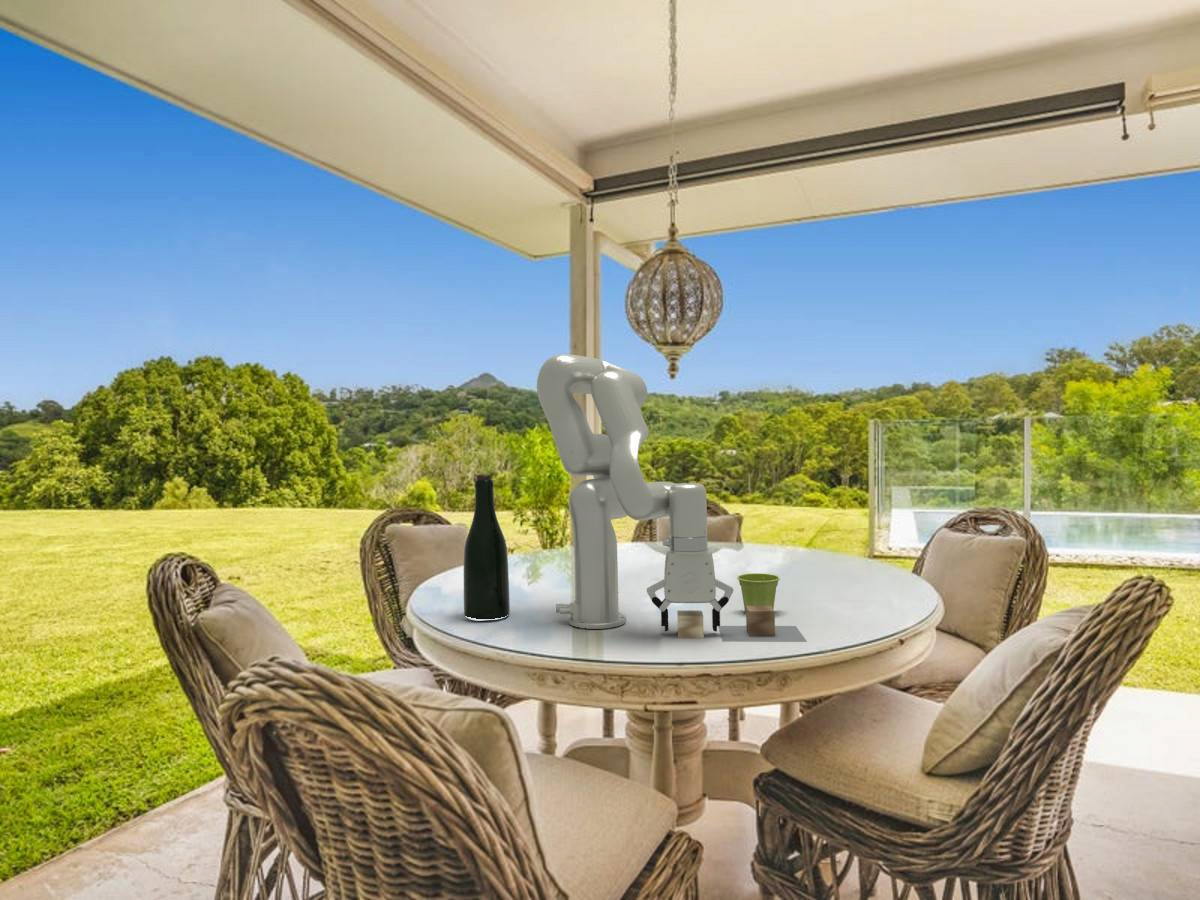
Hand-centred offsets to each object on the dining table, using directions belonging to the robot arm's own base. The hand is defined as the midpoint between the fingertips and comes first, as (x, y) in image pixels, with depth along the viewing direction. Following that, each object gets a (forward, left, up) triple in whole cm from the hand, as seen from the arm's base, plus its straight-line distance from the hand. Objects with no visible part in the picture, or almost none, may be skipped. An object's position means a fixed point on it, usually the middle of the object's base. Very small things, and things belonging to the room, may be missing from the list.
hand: (690, 629), depth 145 cm
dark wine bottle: (-46, +17, -2) cm, 49 cm away
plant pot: (+16, +19, -2) cm, 25 cm away
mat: (+14, +1, -2) cm, 14 cm away
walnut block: (+14, +1, -1) cm, 14 cm away
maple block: (0, 0, -2) cm, 2 cm away
